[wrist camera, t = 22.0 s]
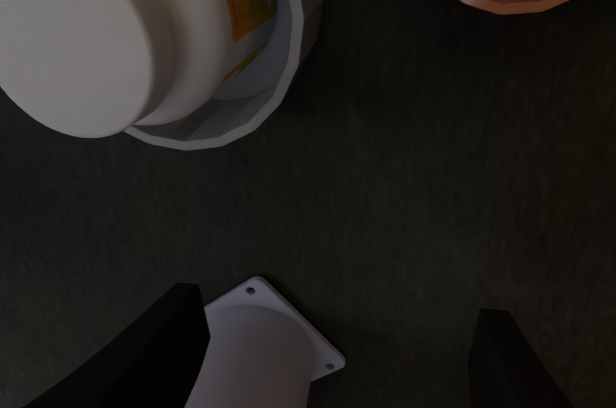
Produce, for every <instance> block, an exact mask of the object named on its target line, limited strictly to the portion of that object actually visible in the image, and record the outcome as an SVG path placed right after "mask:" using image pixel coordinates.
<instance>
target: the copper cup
mask: <svg viewBox="0 0 616 408" xmlns="http://www.w3.org/2000/svg"><path fill="white" fill-rule="evenodd" d="M459 1H460V2H462V3H464V4H465V5H469V6H472V7H475V8H478V9H482V10H485V11H488V12H492V13H495V14H498V15H509V14H522V13H536V12H541V11H545V10H548V9H550V8H552V7H555V6H557V5H560V4H562V3H564V2H567V1H569V0H459Z"/></svg>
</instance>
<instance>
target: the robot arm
mask: <svg viewBox="0 0 616 408" xmlns="http://www.w3.org/2000/svg"><path fill="white" fill-rule="evenodd" d="M249 287H251V288H254V289H255V290H251V289H250V288H249ZM344 365H345V357H344V356H343V355H342V354H341V353H340V352H339V351H338V350H337V349H336V348H335V347H334V346H333V345H332V344H331V343H330V342H329V341H328V340H327V339H326V338H325V337H324V336H323V335H322V334H321V333H320V332H319V331H318V330H317V329H316V328H315V327H314V326H313V325H311V324H310V323H309V322H308V321H307V320H306V319H305V318H304V317H303V316H302V315H301V314H300V313H299V312H298V311H297V310H296V309H295V308H294V307H293V306H292V305H291V304H290V303H289V302H288V301H287V300H286V299H285V298H284V297H283V296H282V295H281V294H280V293H279V292H278V291H277V290H276V289H275V288H274V287H273V286H272V285H271V284H270V283H269V282H268V281H267V280H266V279H264V278H263V277H261V276H254V277H252V278H250V279H249V280H247V281H245V282H244V283H242V284H241V285H239V286H237V287H236V288H234V289H233V290H231V291H229V292H228V293H226V294H224V295H223V296H221V297H220V298H218V299H216V300H215V301H213V302H212V303H210V304H208V305H207V306H205V307H204V306H203V301H202V297H201V293H200V289H199V285H198V284H187V283H176V284H175V285H174V286H173V287H172V288H171V289H169V290H168V291H167V292H166V293H165V294H164V295H163V296H162V297H161V298H159V299H158V300H157V301H156V302H155V303H154V304H153V305H152V306H151V307H149V308H148V309H147V310H146V311H145V312H144V313H143V314H142V315H141V316H139V317H138V318H137V319H136V320H135V321H134V322H133V323H132V324H130V325H129V326H128V327H127V328H126V329H125V330H124V331H122V332H121V333H120V334H119V335H118V336H117V337H116V338H114V339H113V340H112V341H111V342H110V343H109V344H107V345H106V346H105V347H104V348H102V349H101V350H100V351H99V352H97V353H96V354H95V355H94V356H92V357H91V358H90V359H89V360H88V361H86V362H85V363H84V364H83V365H81V366H80V367H79V368H78V369H76V370H75V371H74V372H72V373H71V374H70V375H68V376H67V377H66V378H64V379H63V380H61V381H60V382H59V383H57V384H56V385H55V386H53V387H52V388H50V389H49V390H47V391H46V392H44V393H43V394H42V395H40V396H39V397H37V398H36V399H34V400H33V401H31V402H30V403H28V404H27V405H25V406H24V407H22V408H306V406H307V400H308V394H309V388H310V382H312V381H314V380H316V379H318V378H321V377H323V376H325V375H327V374H330V373H332V372H334V371H336V370H338V369H341V368H343V367H344ZM468 372H469V384H470V394H471V405H472V408H574V407H573V405H572V404H571V403H570V401H569V400H568V399H567V397H566V396H565V395H564V393H563V392H562V391H561V389H560V388H559V386H558V385H557V384H556V382H555V381H554V379H553V378H552V377H551V375H550V374H549V373H548V371H547V370H546V368H545V367H544V365H543V364H542V362H541V361H540V359H539V358H538V356H537V355H536V353H535V352H534V350H533V349H532V347H531V346H530V344H529V343H528V341H527V340H526V338H525V337H524V335H523V333H522V332H521V330H520V329H519V327H518V325H517V324H516V322H515V321H514V319H513V317H512V316H511V314H510V313H509V312H508V311H505V310H493V309H481V308H480V312H479V317H478V321H477V325H476V330H475V334H474V339H473V343H472V347H471V352H470V356H469V361H468Z"/></svg>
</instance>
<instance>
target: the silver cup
mask: <svg viewBox="0 0 616 408" xmlns="http://www.w3.org/2000/svg"><path fill="white" fill-rule="evenodd" d="M322 4H323V0H277V17H276V23H275V27H274V30H273V33H272V35H271V37H270V39H269V41H268V43H267V45H266V46H265V48H264V49H263V50H262V51H261V53H260V54H259V55H258V56H257V57H256V58H255V59H254V60H253V61H252V62H251V63H250V64H249V65H248V66H247V67H245V68H244V69H243V70H242V71H241V72H240V73H239V74H237V75H236V76H235V77H234V78H233V79H232V80H231V81H230V82H228V83H227V84H226V85H225V86H224V87H223V88H222V89H221V90H219V91H218V92H217V93H216V94H215V95H214V96H213V97H212V98H211V99H210V100H209V101H208V102H206V103H205V104H204V105H203V106H201V107H200V108H198V109H197V110H196V111H194V112H193V113H191V114H189V115H188V116H186V117H184V118H182V119H180V120H177V121H174V122H171V123H166V124H161V125H131V126H130V127H129V128H127V129H125V130H123V131H124V132H126V133H128V134H130V135H132V136H134V137H136V138H138V139H140V140H142V141H144V142H146V143H150V144H153V145H158V146H164V147H169V148H174V149H180V150H187V151H188V150H196V149H205V148H213V147H221V146H224V145H226V144H228V143H230V142H232V141H234V140H236V139H239V138H241V137H243V136H245V135H247V134H249V133H251V132H253V131H254V130H256V129H257V128H258V127H259V126H260V125H261V124H262V123H263V122H264V121H265V119H266V118H267V117H268V116H269V115H270V114H271V113H272V112H273V111H274V110H275V109H276V108H277V107H278V106H279V105H280V104H281V102H282V101H283V99H284V98H285V96H286V95H287V93H288V92H289V90H290V88H291V87H292V85H293V84H294V82H295V81H296V79H297V77H298V76H299V74H300V73H301V71H302V70H303V68H304V66H305V64H306V62H307V60H308V58H309V56H310V54H311V52H312V49H313V47H314V45H315V43H316V41H317V38H318V33H319V29H320V24H321V17H322Z"/></svg>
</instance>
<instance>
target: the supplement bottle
mask: <svg viewBox="0 0 616 408" xmlns="http://www.w3.org/2000/svg"><path fill="white" fill-rule="evenodd" d="M276 17H277V0H0V86H1V88H2V89H3V90H4V91H5V92H6V94H7V95H8V96H9V97H10V98H11V99H12V100H13V101H14V102H15V103H16V104H17V105H18V106H19V107H20V108H21V109H22V110H24V111H25V112H26V113H27V114H29V115H30V116H31V117H33V118H34V119H35V120H37V121H39V122H40V123H42V124H44V125H45V126H47V127H50V128H52V129H54V130H56V131H59V132H61V133H64V134H68V135H71V136H76V137H84V138H100V137H106V136H110V135H114V134H117V133H119V132H121V131H123V130H125V129H127V128H129V127H130V126H131V125H161V124H166V123H171V122H174V121H177V120H180V119H182V118H184V117H186V116H188V115H189V114H191V113H193V112H194V111H196V110H197V109H198V108H200V107H201V106H203V105H204V104H205V103H206V102H208V101H209V100H210V99H211V98H212V97H213V96H214V95H215V94H216V93H217V92H218V91H219V90H221V89H222V88H223V87H224V86H225V85H226V84H227V83H228V82H230V81H231V80H232V79H233V78H234V77H235V76H236V75H237V74H239V73H240V72H241V71H242V70H243V69H244V68H245V67H247V66H248V65H249V64H250V63H251V62H252V61H253V60H254V59H255V58H256V57H257V56H258V55H259V54H260V53H261V51H262V50H263V49H264V48H265V46H266V45H267V43H268V41H269V39H270V37H271V35H272V33H273V30H274V27H275V23H276Z"/></svg>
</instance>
